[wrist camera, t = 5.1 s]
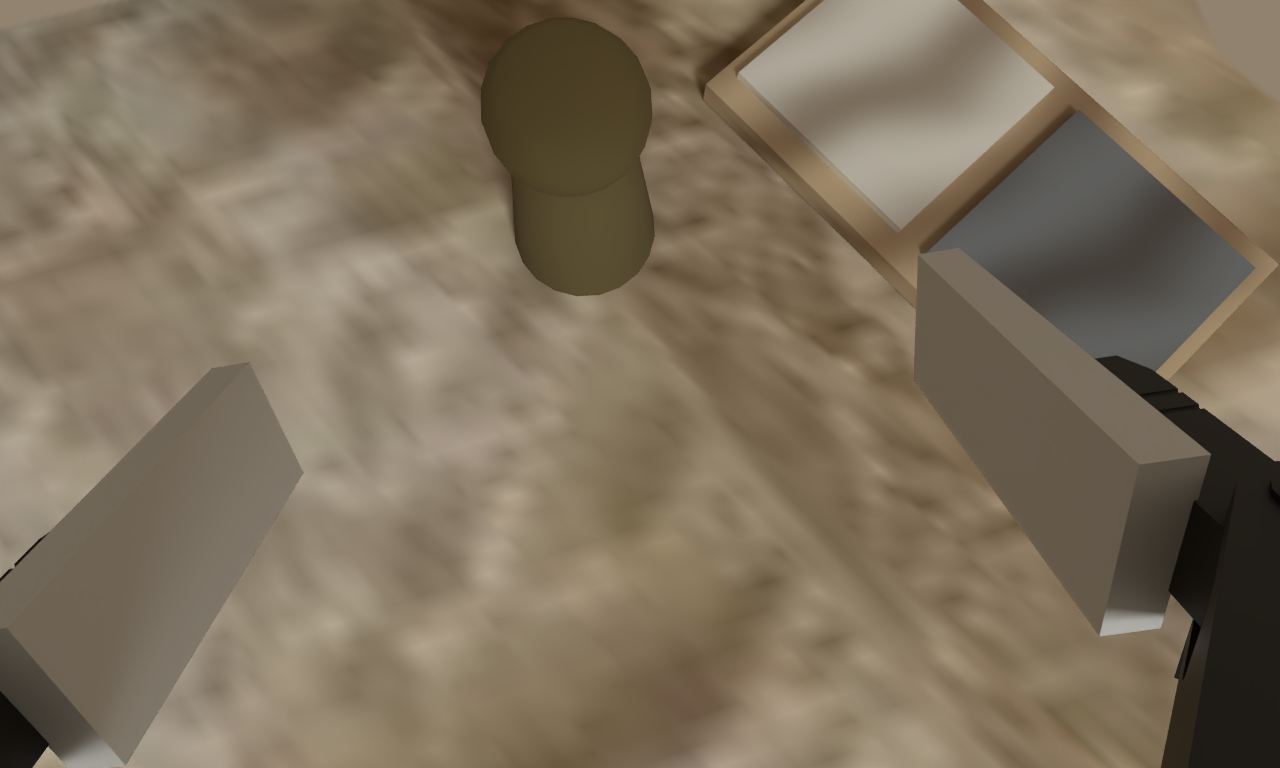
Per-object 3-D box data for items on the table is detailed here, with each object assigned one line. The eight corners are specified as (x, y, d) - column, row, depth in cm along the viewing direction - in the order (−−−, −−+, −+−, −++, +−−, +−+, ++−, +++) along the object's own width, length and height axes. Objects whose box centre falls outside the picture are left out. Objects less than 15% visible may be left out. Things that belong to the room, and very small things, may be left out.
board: (703, 100, 33) (706, 78, 31) (887, -56, 34) (900, -84, 33) (1073, 462, 30) (1097, 459, 28) (1254, 274, 31) (1287, 261, 30)
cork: (620, 318, 31) (616, 207, 20) (490, 263, 31) (417, 124, 20) (676, 195, 32) (702, 27, 21) (550, 143, 32) (511, -49, 21)
